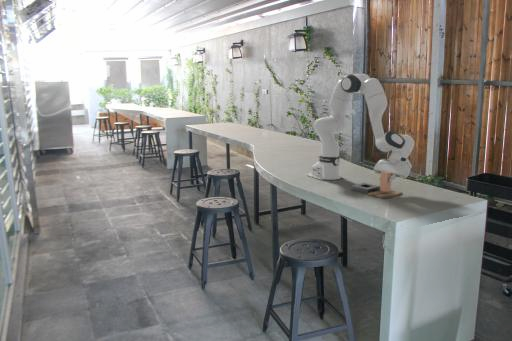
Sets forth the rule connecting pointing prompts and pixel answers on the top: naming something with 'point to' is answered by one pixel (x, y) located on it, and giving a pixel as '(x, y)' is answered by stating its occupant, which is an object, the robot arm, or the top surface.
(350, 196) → the top surface
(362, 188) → the socket
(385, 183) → the peg
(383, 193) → the board
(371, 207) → the top surface
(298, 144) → the top surface
